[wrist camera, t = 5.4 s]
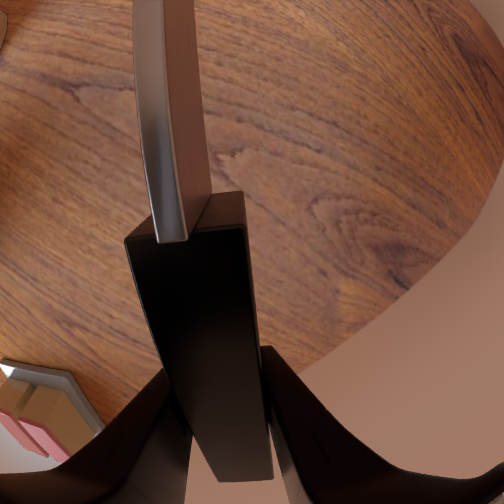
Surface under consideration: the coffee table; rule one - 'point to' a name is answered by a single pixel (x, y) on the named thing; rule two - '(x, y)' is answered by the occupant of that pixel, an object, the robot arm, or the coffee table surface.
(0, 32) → the coffee cup
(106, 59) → the coffee table surface
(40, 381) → the cake plate
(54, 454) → the cake slice
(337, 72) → the coffee table surface
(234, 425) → the knife
